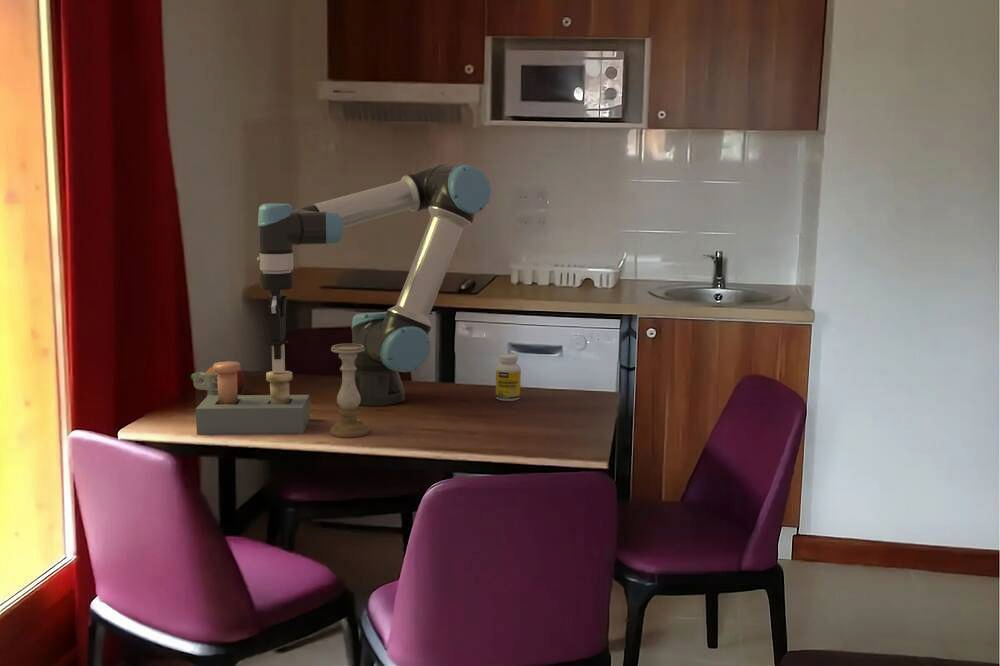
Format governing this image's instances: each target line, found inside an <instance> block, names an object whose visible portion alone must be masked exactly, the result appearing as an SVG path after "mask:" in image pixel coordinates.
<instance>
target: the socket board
mask: <svg viewBox="0 0 1000 666" xmlns="http://www.w3.org/2000/svg"><path fill="white" fill-rule="evenodd" d="M310 415H311V414H310V394H290V404H271V402H270V394H254V395H253V394H252V395H251V394H250V395H249V394H246V395H245V394H238V404H218V395H208V396H207V395H206V397H205V398H203V400H202V401H201V402H200V404H199V405H198V406H197V407H196V408H195V421H196V425H195V426H196V435H255V434H258V435H260V434H261V435H262V434H267V435H268V434H269V435H270V434H271V435H273V434H277V435H278V434H282V435H283V434H304V433H305V430H306V428H307V427H308V424H309V421H310V418H311V417H310Z"/></svg>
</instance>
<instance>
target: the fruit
mask: <svg viewBox="0 0 1000 666" xmlns="http://www.w3.org/2000/svg"><path fill="white" fill-rule="evenodd" d="M227 361H228V360H226V359H224V360H221V361H220V362H227ZM206 372H209V373H217V372H214V369H213V366H211V367H209V368H208V369H207V370H206ZM245 379H246V378H245V376H244V373H243V371H242V370H241V369H240V371H237V393H238V395H240V393H241V392H242V391H243V389H244V387H245V381H246V380H245ZM206 392H207V393H208V390H206ZM217 394H218V390H217Z"/></svg>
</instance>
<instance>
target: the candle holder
mask: <svg viewBox="0 0 1000 666" xmlns="http://www.w3.org/2000/svg"><path fill="white" fill-rule="evenodd" d="M330 350H331V352H333V353H335V354H338V358H339V359H340V360H341V366H340V368H339V370H340V371H341V374H342V375H341V377H342V378H341V386H340V388H339V391H338V394H337V395H336V402H337V403H336V404H337V405H338V407H340V409H339V410H338V414H339V415H340V417H341V420H340V421H337V422H335V423H334V424H333V426H331V427H330V429H329V434H330V435H331V436H334V437H338V438H357V437H363V436H365V435H367V434H368V433H369V427H368V426H367V425H365V424H364V423H365V422H363V421H361V420H358V419H357V418H358V416H359V413H360V410H359V408H358V406H360V405H359V404H360V401H361V397H360V394H359V392H358V390H357V387H356V384H355V375H354V373H355V370H356V369H357V368H356V366H355V365H354V360H355V359H356V358H357V353H359V352H363V351H364V350H365V347H364V346H363V345H361V344H352V343H339V344H338V343H337V344H333V345H332V346H331V348H330Z"/></svg>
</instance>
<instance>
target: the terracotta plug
mask: <svg viewBox="0 0 1000 666" xmlns="http://www.w3.org/2000/svg"><path fill="white" fill-rule="evenodd" d="M226 361H227V362H221V361H219V362H218V361H217V362H214V363H213V364H212V365H213V369H214V372H217V380H218V404H238V395H239V394H238V393H237V371H240V370H241V363H240V362H239V361H228V360H226Z"/></svg>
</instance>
